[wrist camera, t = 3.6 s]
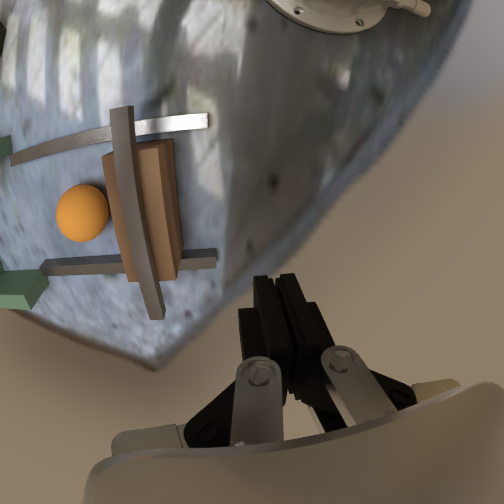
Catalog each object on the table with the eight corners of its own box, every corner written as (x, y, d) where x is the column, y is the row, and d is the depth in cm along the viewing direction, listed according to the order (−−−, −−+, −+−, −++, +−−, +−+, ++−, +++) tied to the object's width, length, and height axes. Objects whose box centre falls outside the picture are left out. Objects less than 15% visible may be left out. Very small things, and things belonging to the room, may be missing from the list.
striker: (170, 103, 19) (150, 102, 13) (187, 272, 27) (180, 319, 21) (124, 110, 19) (89, 114, 13) (149, 273, 27) (134, 319, 21)
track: (207, 112, 20) (206, 112, 19) (216, 259, 27) (216, 268, 26) (18, 151, 18) (9, 155, 17) (48, 268, 25) (42, 276, 24)
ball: (111, 174, 22) (88, 191, 17) (120, 224, 24) (102, 250, 20) (67, 181, 21) (40, 200, 17) (78, 229, 24) (55, 254, 19)
